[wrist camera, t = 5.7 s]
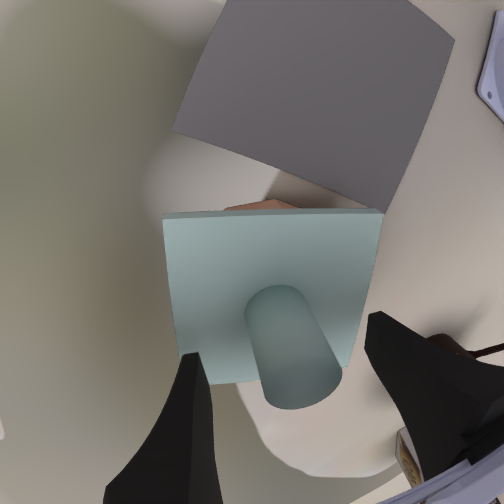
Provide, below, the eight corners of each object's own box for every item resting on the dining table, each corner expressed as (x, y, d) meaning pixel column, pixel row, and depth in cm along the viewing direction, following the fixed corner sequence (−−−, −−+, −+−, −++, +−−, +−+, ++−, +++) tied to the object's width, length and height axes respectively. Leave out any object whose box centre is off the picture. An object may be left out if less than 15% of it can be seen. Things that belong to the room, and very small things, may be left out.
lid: (375, 208, 14) (447, 260, 9) (343, 358, 18) (378, 426, 13) (164, 213, 12) (147, 281, 8) (184, 376, 16) (187, 458, 12)
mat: (451, 40, 13) (455, 39, 13) (382, 212, 17) (384, 214, 17) (269, -72, 9) (270, -74, 9) (171, 130, 14) (171, 130, 13)
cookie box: (433, 435, 34) (481, 518, 20) (394, 456, 34) (437, 544, 20) (442, 405, 30) (503, 503, 16) (396, 430, 30) (452, 538, 16)
